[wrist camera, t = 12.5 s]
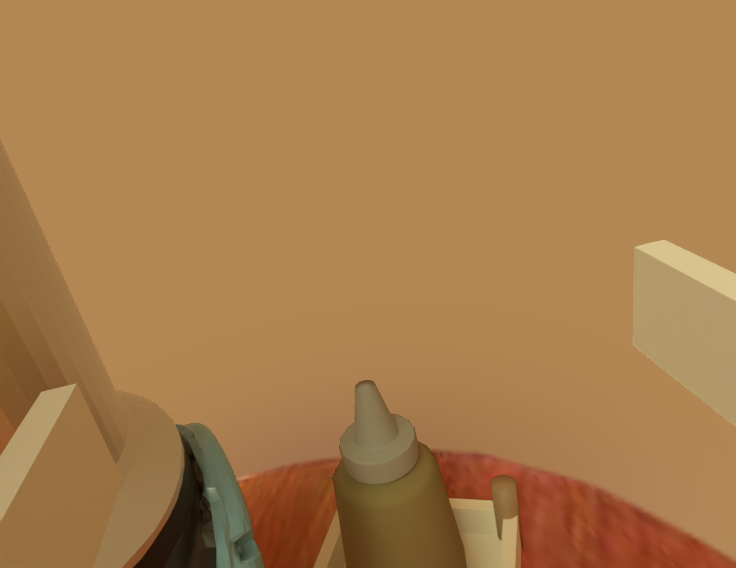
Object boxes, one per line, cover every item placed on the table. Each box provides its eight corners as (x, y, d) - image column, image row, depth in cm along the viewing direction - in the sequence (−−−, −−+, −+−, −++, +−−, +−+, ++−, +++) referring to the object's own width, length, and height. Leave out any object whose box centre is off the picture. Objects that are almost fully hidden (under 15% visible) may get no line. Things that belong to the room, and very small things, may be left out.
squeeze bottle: (427, 533, 44) (385, 335, 37) (498, 608, 38) (464, 383, 30) (338, 593, 41) (274, 388, 34) (399, 686, 34) (336, 455, 27)
